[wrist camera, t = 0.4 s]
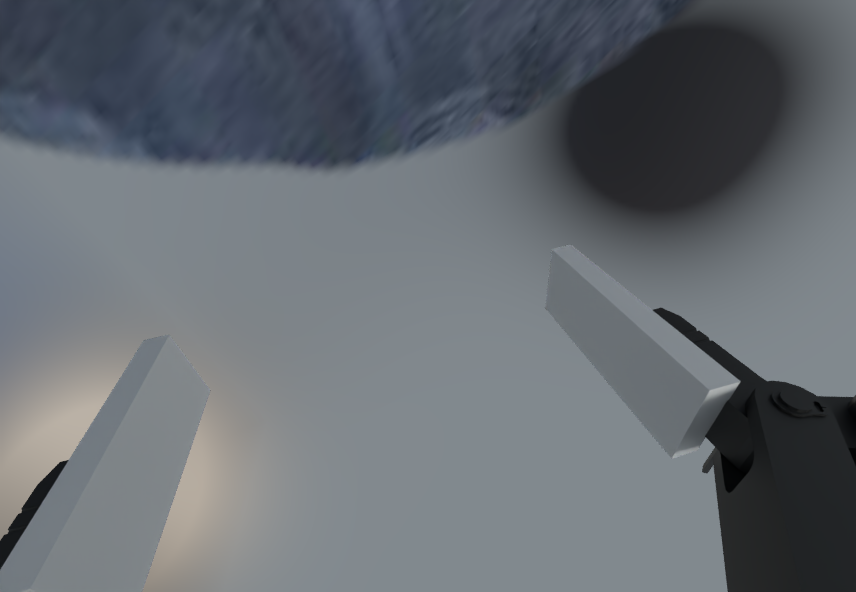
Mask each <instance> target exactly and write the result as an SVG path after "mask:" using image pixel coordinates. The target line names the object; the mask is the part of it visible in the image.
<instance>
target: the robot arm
mask: <svg viewBox="0 0 856 592" xmlns="http://www.w3.org/2000/svg"><path fill="white" fill-rule="evenodd" d="M545 309H546V310H547V311H548V312H549V313H550V315H551V316H552V317H553V318H554V319H555V321H556V322H557V323H558V324H559V325H560V327H561V328H562V329H563V330H564V331H565V332H566V333H567V335H568V336H569V337H570V338H571V340H572V341H573V342H574V343H575V344H576V346H577V347H578V348H579V349H580V350H581V352H582V353H583V354H584V355H585V356H586V357H587V359H588V360H589V361H590V362H591V363H592V365H593V366H594V367H595V368H596V369H597V371H598V372H599V373H600V374H601V375H602V376H603V378H604V379H605V380H606V381H607V383H608V384H609V385H610V386H611V387H612V388H613V390H614V391H615V392H616V393H617V394H618V396H619V397H620V398H621V399H622V400H623V402H624V403H625V404H626V405H627V406H628V408H629V409H630V410H631V411H632V412H633V414H634V415H635V416H636V417H637V418H638V420H639V421H640V422H641V423H642V424H643V425H644V427H645V428H646V429H647V430H648V431H649V433H650V434H651V435H652V436H653V437H654V439H655V440H656V441H657V442H658V443H659V445H660V446H661V447H662V448H663V449H664V450H665V452H666V453H667V454H668V455H669V457H670V458H675V457H678V456H681V455H685V454H688V453H691V452H694V451H697V450H698V448H699V447H700V445H701V444H702V442H703V441H704V439H705V437H706V438H707V439H708V440H709V441H710V442H711V443H712V444H713V445H714V446H715V448H714V450H713V451H712V453H711V454H710V456H709V457H708V459H707V460H706V462H705V463H704V465H703V469H702V472H704V473H708V472H709V470H710V469H711V467H712V466H713V465H714V474H715V483H716V491H717V501H718V509H719V518H720V527H721V536H722V544H723V552H724V553H723V554H724V562H725V571H726V580H727V589H728V592H856V396H855V397H821V396H816V395H814V394H813V393H811V392H809V391H807V390H805V389H803V388H801V387H799V386H796V385H792V384H789V383H786V382H779V381H768V382H767V381H766V380H764V379H763V378H761V377H760V376H758V375H757V374H756V373H754V372H753V371H752V370H750V369H749V368H748V367H747V366H745V365H744V364H743V363H741V362H740V361H739V360H737V359H736V358H734V357H733V356H732V355H731V354H729V353H728V352H727V351H725V350H724V349H723V348H722V347H720V346H719V345H718V344H716V343H715V342H714V341H710V340H709V338H708V337H707V336H706V335H704V334H703V333H702V332H700V331H697V330H696V328H695V327H694V326H692V325H691V324H690V323H689V322H687V321H686V320H685V319H683V318H682V317H681V316H679V315H676V314H674V313H672V312H670V311H667V310H665V309H663V308H659V309H654V310H651V309H650V308H649V307H648V306H646V305H645V304H644V303H643V302H642V301H640V300H639V299H638V298H636V297H635V296H634V295H633V294H632V293H630V292H629V291H627V289H625V288H624V287H623V286H622V285H620V284H619V283H618V282H617V281H616V280H614V279H613V278H612V277H611V276H609V275H608V274H607V273H606V272H604V271H603V270H602V269H601V268H599V267H598V266H597V265H596V264H594V263H593V262H592V261H591V260H589V259H588V258H587V257H586V256H584V255H583V254H582V253H581V252H580V251H578V250H577V249H576V248H574V247H573V246H572V245H568V246H564V247H560V248H555V249H552V252H551V261H550V271H549V279H548V288H547V297H546V307H545ZM209 393H210V389H209V388H208V386H207V385H206V383H205V382H204V381H203V379H202V378H201V377H200V375H199V374H198V373H197V371H196V370H195V368H194V367H193V366H192V364H191V363H190V362H189V360H188V359H187V358H186V356H185V355H184V354H183V352H182V351H181V350H180V348H179V347H178V345H177V344H176V343H175V342H174V340H173V339H172V337H171V336H170V335H165V336H160V337H156V338H152V339H147V340H144V341H143V342H142V344H141V346H140V347H139V349H138V350H137V352H136V353H135V355H134V357H133V359H132V360H131V361H130V363H129V365H128V367H127V368H126V370H125V371H124V373H123V374H122V376H121V378H120V379H119V381H118V382H117V384H116V386H115V387H114V389H113V390H112V392H111V394H110V395H109V397H108V398H107V400H106V401H105V403H104V405H103V406H102V408H101V409H100V411H99V413H98V414H97V416H96V418H95V419H94V421H93V422H92V424H91V425H90V427H89V429H88V430H87V432H86V433H85V435H84V437H83V438H82V440H81V441H80V443H79V445H78V446H77V448H76V449H75V451H74V453H73V454H72V456H71V458H70V459H69V460H67V461H63V462H60V463H59V464H58V465H57V466H56V467H55V468H54V469H53V470H52V471H51V472H50V473H49V474H48V475H47V476H46V477H45V478H44V479H43V480H42V481H41V482H40V483H39V484H38V485H37V486H36V488H35V489H34V491H33V492H32V494H31V495H30V497H29V498H28V500H27V501H26V503H25V504H24V506H23V507H22V513H20V514H18V515H17V517H16V518H15V520H14V521H13V523H12V524H11V526H10V527H9V529H8V530H9V532H8V534H6V535H4V536H3V538H2V539H1V541H0V592H142V591H143V588H144V584H145V582H146V579H147V576H148V573H149V570H150V567H151V564H152V561H153V558H154V555H155V552H156V549H157V546H158V543H159V540H160V538H161V534H162V532H163V529H164V526H165V523H166V520H167V517H168V514H169V511H170V508H171V505H172V502H173V499H174V496H175V493H176V490H177V487H178V484H179V482H180V479H181V475H182V473H183V470H184V467H185V464H186V461H187V458H188V455H189V452H190V449H191V446H192V443H193V440H194V437H195V434H196V431H197V428H198V425H199V423H200V420H201V416H202V414H203V411H204V408H205V405H206V402H207V399H208V396H209Z"/></svg>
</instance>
